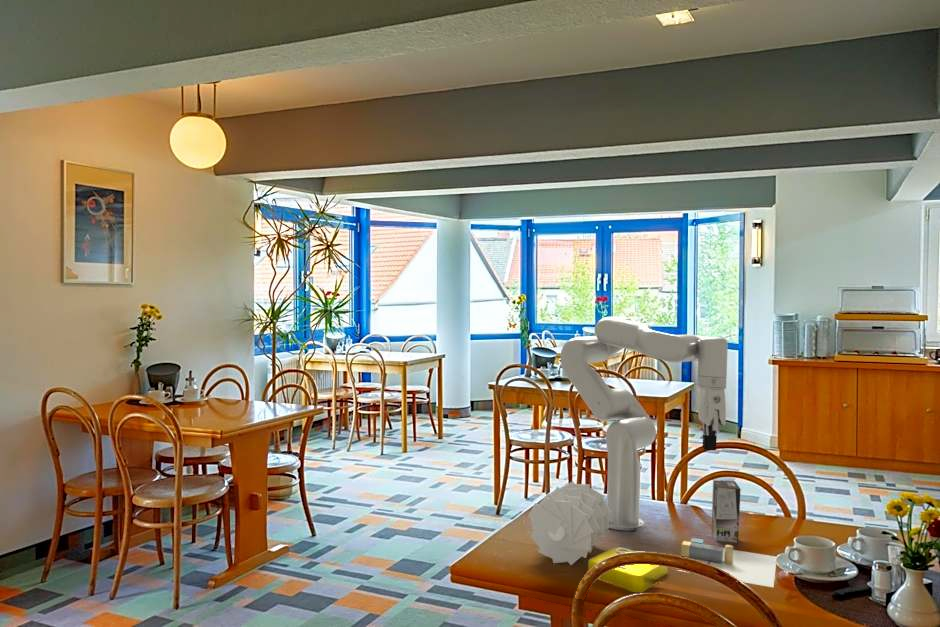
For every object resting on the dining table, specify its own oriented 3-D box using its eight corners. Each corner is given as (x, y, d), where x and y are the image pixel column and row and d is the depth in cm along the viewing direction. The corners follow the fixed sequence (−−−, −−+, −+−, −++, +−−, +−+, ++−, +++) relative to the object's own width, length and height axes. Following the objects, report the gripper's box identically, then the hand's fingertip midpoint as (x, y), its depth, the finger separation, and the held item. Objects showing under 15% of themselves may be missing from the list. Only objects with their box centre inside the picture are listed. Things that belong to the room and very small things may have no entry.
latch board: (676, 575, 181) (677, 552, 181) (689, 547, 202) (690, 527, 202) (773, 592, 172) (774, 568, 172) (776, 561, 193) (777, 540, 192)
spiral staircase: (595, 556, 204) (571, 584, 181) (541, 520, 211) (511, 542, 188) (626, 500, 201) (605, 521, 178) (570, 466, 208) (544, 481, 185)
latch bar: (723, 559, 189) (723, 547, 189) (721, 563, 186) (721, 551, 186) (683, 552, 193) (683, 540, 193) (681, 555, 191) (681, 544, 191)
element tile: (584, 577, 179) (585, 558, 179) (616, 562, 191) (617, 543, 190) (639, 595, 169) (640, 575, 169) (670, 578, 180) (671, 558, 180)
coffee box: (739, 547, 203) (741, 488, 203) (714, 544, 204) (716, 487, 204) (734, 536, 212) (736, 480, 212) (710, 534, 213) (712, 479, 213)
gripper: (734, 386, 193) (732, 456, 193) (717, 379, 208) (714, 444, 208) (705, 385, 193) (703, 455, 193) (690, 378, 208) (688, 443, 208)
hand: (709, 449), depth 201 cm, fingers closed
